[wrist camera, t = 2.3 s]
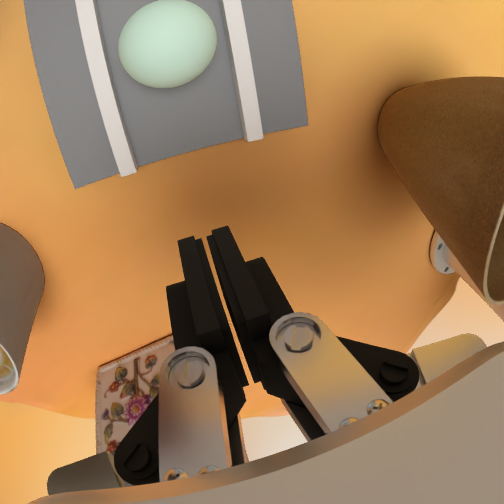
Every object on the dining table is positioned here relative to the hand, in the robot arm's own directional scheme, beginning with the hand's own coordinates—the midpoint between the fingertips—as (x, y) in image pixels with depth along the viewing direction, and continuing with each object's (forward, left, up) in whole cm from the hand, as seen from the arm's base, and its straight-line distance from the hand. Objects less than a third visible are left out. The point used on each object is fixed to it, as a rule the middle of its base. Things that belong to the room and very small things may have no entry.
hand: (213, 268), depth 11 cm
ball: (-1, -8, -9) cm, 12 cm away
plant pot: (-20, +1, -14) cm, 24 cm away
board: (-1, -15, -14) cm, 20 cm away
